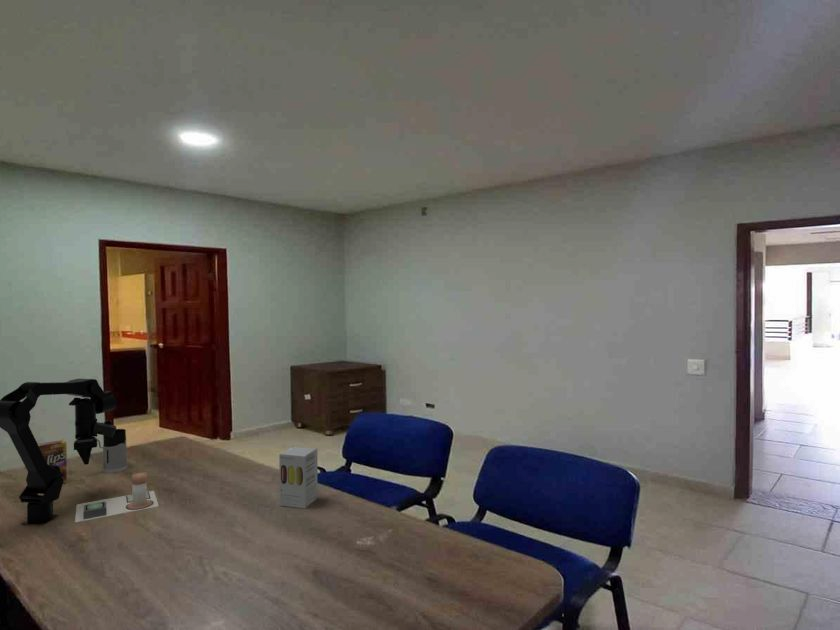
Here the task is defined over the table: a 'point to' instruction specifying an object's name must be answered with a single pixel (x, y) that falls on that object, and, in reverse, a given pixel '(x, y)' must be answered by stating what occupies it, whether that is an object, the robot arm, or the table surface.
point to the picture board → (117, 506)
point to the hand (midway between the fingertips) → (86, 464)
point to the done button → (95, 506)
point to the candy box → (56, 455)
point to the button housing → (94, 511)
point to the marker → (139, 489)
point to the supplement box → (298, 477)
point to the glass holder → (114, 452)
